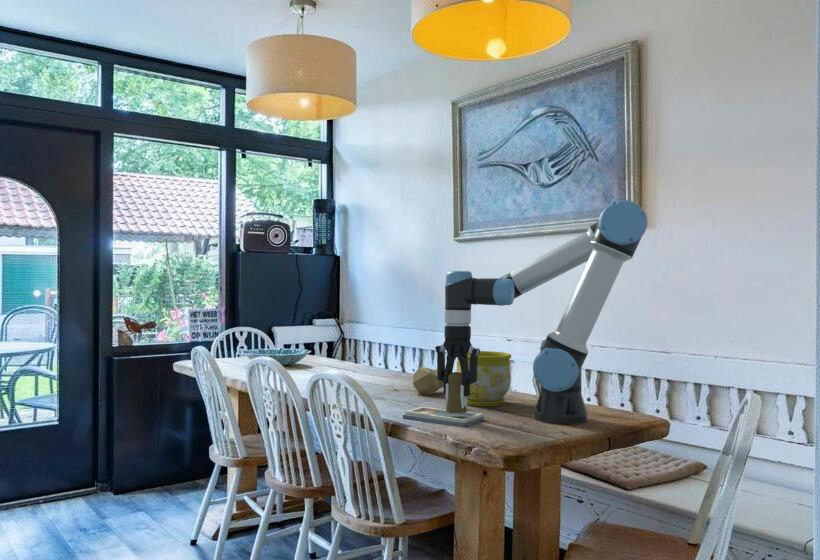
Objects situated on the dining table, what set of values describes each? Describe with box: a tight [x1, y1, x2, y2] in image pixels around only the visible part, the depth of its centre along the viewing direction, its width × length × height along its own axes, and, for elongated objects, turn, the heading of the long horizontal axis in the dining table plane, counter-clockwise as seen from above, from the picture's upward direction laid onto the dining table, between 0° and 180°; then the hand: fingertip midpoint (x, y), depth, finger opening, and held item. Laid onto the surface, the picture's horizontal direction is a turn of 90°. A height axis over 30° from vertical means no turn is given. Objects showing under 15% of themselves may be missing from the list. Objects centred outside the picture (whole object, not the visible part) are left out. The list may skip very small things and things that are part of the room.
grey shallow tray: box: [402, 406, 484, 428], centre depth 185 cm, size 20×12×2 cm, turn 57°
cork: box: [445, 371, 468, 413], centre depth 183 cm, size 6×6×11 cm
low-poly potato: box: [412, 366, 444, 396], centre depth 229 cm, size 15×11×12 cm
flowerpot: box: [456, 350, 512, 408], centre depth 212 cm, size 18×18×16 cm
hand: (456, 406), depth 183 cm, fingers closed on cork, 4 cm apart
